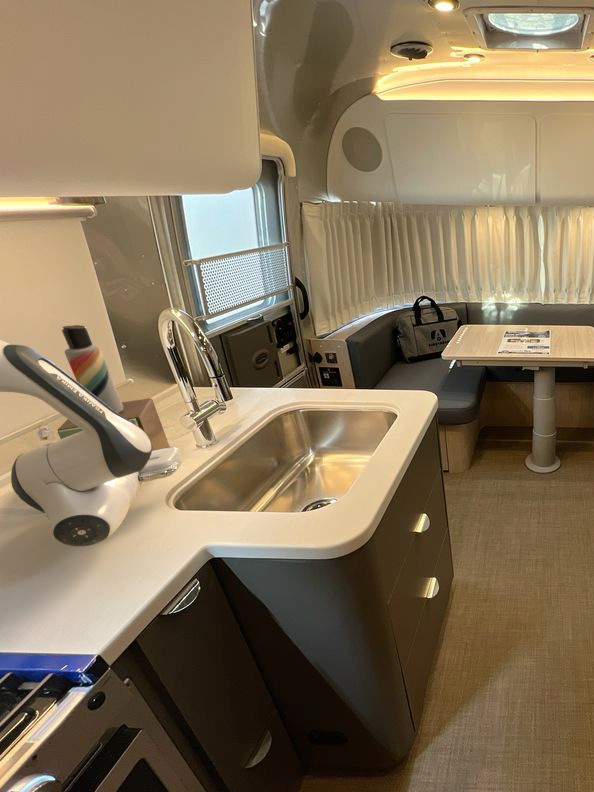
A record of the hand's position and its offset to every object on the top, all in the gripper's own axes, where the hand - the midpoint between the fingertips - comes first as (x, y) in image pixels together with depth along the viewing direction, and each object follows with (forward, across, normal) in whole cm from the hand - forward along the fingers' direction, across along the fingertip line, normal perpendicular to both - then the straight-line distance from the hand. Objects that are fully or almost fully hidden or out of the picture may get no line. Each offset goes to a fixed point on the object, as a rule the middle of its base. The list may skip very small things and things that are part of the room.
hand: (130, 453), depth 105 cm
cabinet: (+10, +4, +8) cm, 13 cm away
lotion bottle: (+10, +4, -6) cm, 13 cm away
